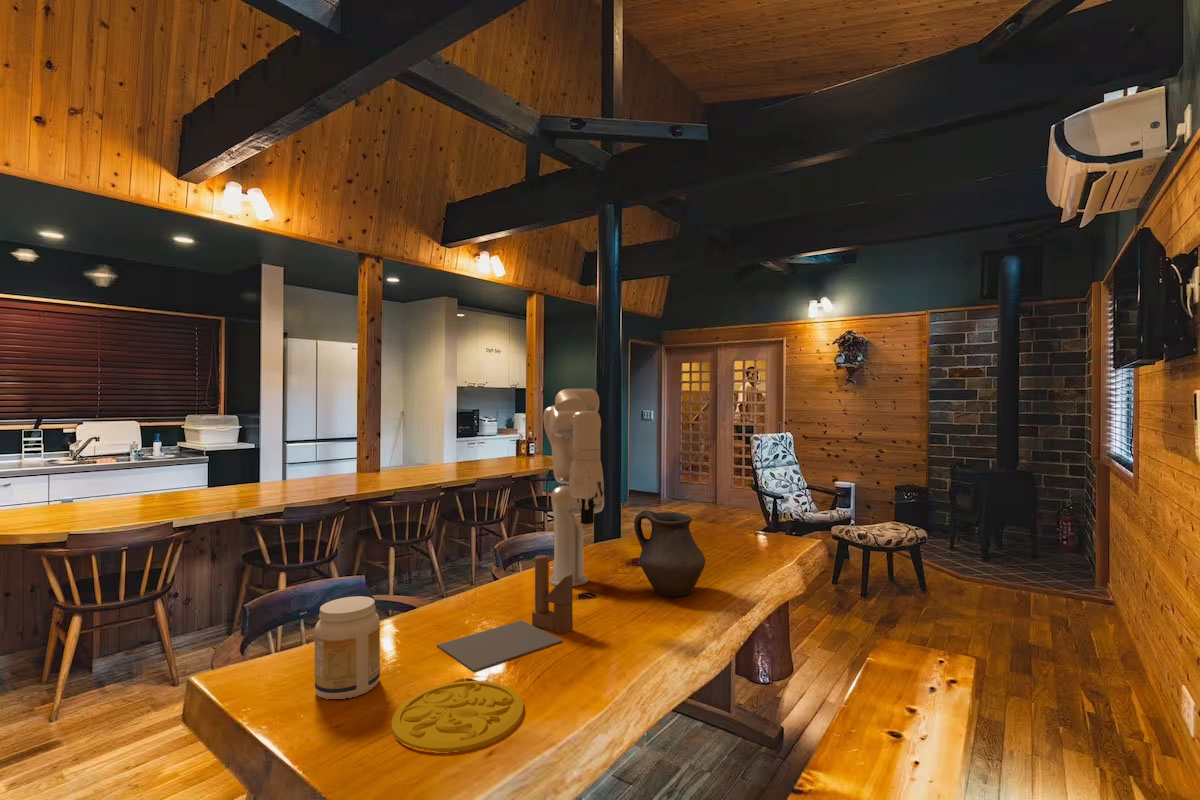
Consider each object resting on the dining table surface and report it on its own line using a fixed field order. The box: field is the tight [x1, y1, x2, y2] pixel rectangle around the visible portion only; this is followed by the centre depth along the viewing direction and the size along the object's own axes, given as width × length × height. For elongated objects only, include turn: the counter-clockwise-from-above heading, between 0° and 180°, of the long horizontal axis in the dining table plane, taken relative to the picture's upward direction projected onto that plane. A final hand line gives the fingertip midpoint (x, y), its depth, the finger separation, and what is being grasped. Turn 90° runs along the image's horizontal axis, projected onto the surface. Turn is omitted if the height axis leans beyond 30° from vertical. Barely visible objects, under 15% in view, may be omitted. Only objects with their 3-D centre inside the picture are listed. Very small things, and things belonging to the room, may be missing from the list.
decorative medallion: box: [391, 680, 524, 752], centre depth 105 cm, size 24×24×2 cm
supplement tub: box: [313, 595, 381, 700], centre depth 116 cm, size 12×12×17 cm
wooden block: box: [531, 554, 574, 635], centre depth 147 cm, size 4×11×18 cm, turn 57°
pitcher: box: [633, 510, 706, 598], centre depth 175 cm, size 21×22×25 cm
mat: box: [436, 619, 563, 673], centre depth 137 cm, size 18×24×1 cm
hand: (587, 523), depth 155 cm, fingers closed
